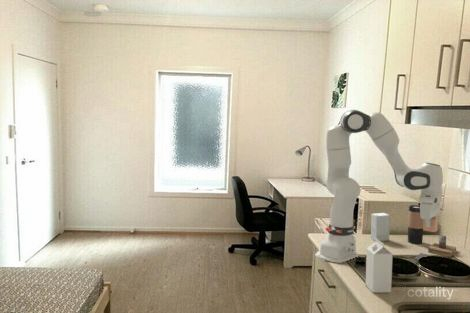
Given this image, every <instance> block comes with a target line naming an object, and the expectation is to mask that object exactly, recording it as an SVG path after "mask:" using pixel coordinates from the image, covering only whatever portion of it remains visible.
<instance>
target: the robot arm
mask: <svg viewBox="0 0 470 313" xmlns="http://www.w3.org/2000/svg"><path fill="white" fill-rule="evenodd" d="M362 132H366V133H367V134H368V136H369V137H370V139H371V140H372V142H373V143H374V146H376V148H377V149H378V150H379V151H380V152H381V153H382V154H383V155H384V156H385V158H386V160H387V162H388V163H389V165H390V166H391V168H392V170H393V173H394V179H395V182H396V184H397V185H398V186H400V187H401V188H405V189H408V190H410V191H417V190H419V191H420V192H421V193H420V196H419V198H418V202H419V203H420V204H419V206H420V217H421V219H425V221H426V227H431V221H430V220H431V218H433V217H436V218H437V215H439V214H440V213H441V203H442V201H443V187H442V184H443V182H444V181H443V180H444V179H443V178H444V177H443V168H442V167H441V165H440V164H436V163H431V162H424V163H422V164H421V165H419V166H417V167H414V168H411V167H409V166H408V164H406V162H405V161H404V159H403V157H402V155H401V154H400V152H399V147H398V146H399V144H400V138H399V136H398V133H397V131H396V129H395V128H394V126H393V125H392V124H391V122H390V121H389V120H388V118H386V117H385V115H384V114H382V113H381V112H378V111H376V112H372V113H370V114H367V113H365V112H363V111H360V110H358V109H350V110H347V111H345V112H344V113H343V114H342V116H341V117H340V120H339V122H338V124H337V125H333V126H331V127H329V128H328V129H327V131H326V137H325V138H326V141H325V146H326V154H327V164H328V165H327V166H328V167H327V177H326V178H327V179H326V181H325V187H326V189H327V190H328V192H329V193H330V194H332V195H333V201H332V206H331V207H330V212H329V224H328V226H326V227H325V231H326V232H327V234H326V235H325V237H324V238H323V239H322V242H321V243H320V247H319V250H318V251H317V252H315V254H314V257H316V258H317V259H320V260H322V261H327V262H332V263H337V264H341V263H344V262H348V261H351V260H353V258H354V259H356V258H355V257H357V258H359V257H360V255H359V253H357V239H356V238H355V236H354V233H355V232H354V230H355V228H354V212H355V210H354V209H355V205H356V202H357V199H358V198H359V196H360V194H361V190H362V189H361V186H360V184H359V183H358V182H357V181H356V180H355V179H354V178H352V177H350V168H351V165H352V155H351V146H350V137H351V135H352V134H358V133H362ZM358 256H359V257H358ZM350 259H351V260H350Z"/></svg>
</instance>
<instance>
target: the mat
mask: <svg viewBox="0 0 470 313" xmlns="http://www.w3.org/2000/svg"><path fill="white" fill-rule="evenodd" d="M427 256H433V255H432V254H427V253H424V252H423V253H419V254H418V255H416V256H415V257H414V258H413V260H416V261H418V260H419V259H420V258H422V257H427Z"/></svg>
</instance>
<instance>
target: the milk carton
mask: <svg viewBox="0 0 470 313" xmlns="http://www.w3.org/2000/svg"><path fill="white" fill-rule="evenodd" d="M365 259H366V260H365V261H366V262H365V264H366V265H365V266H366V267H365V286H366V287H367V288H368V289H369V291H371V292H372V293H377V294H378V293H392V282H393V280H392V279H393V278H392V277H393V276H392V273H393V253H392V252H390V251H389V250H388V249H387V248H386V247H385V244H384V243H383V241H379V240H378V239H376V241H375V240H374V242H373V243H371V244H370V245H369V246H367V247H366V258H365Z"/></svg>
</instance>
